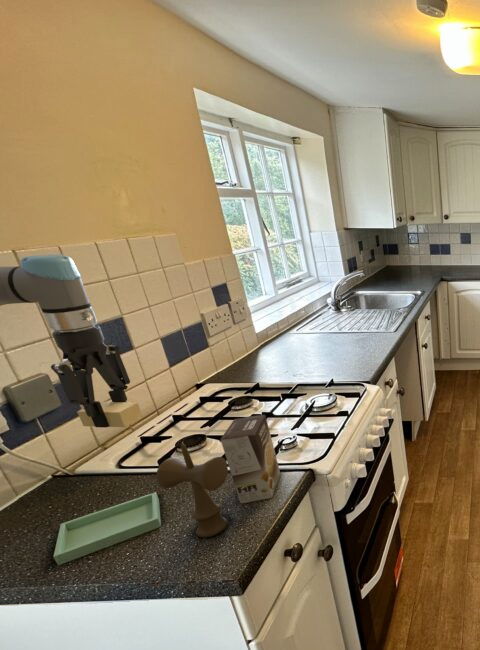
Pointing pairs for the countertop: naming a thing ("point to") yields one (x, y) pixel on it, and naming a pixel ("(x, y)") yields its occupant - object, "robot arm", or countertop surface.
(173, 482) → the kendama
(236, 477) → the coffee box
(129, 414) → the tan block
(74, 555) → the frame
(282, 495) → the countertop surface
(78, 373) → the robot arm
